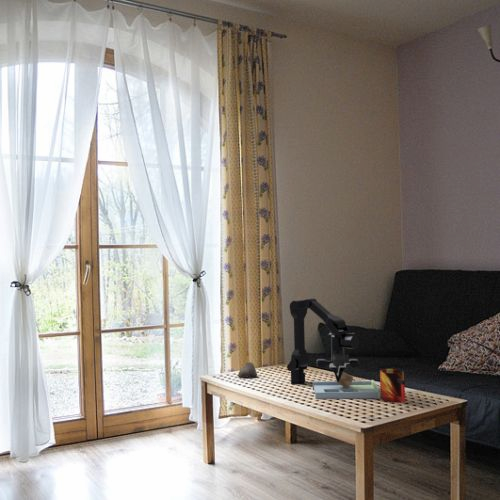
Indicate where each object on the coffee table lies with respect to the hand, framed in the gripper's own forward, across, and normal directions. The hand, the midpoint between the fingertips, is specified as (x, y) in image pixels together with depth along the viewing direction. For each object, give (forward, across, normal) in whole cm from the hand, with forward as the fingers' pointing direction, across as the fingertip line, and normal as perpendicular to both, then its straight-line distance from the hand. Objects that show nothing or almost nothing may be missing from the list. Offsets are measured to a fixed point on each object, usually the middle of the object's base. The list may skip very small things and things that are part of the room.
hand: (338, 382), depth 266 cm
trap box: (+4, +3, -3) cm, 6 cm away
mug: (+5, +23, -15) cm, 28 cm away
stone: (+3, -43, +35) cm, 56 cm away
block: (+1, +2, 0) cm, 2 cm away
